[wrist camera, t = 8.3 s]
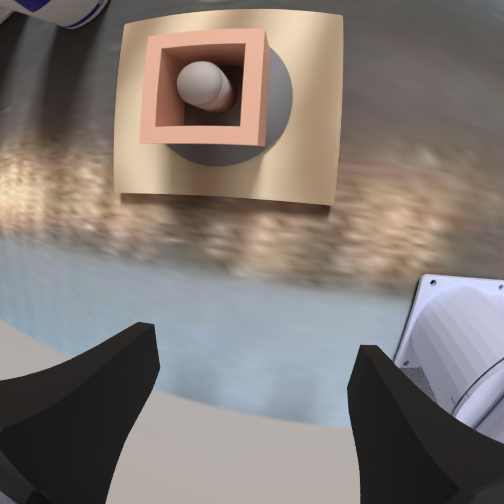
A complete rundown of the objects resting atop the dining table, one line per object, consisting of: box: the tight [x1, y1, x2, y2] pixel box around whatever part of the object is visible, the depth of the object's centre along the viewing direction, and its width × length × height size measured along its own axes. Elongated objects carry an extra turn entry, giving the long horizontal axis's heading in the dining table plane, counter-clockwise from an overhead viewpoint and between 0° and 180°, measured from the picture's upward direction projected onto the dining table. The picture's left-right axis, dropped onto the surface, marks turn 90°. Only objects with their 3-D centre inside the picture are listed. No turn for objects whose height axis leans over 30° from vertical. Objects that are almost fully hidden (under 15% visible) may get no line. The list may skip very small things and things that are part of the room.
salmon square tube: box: [140, 28, 271, 147], centre depth 14 cm, size 6×6×4 cm
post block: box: [114, 9, 343, 206], centre depth 14 cm, size 14×12×6 cm
